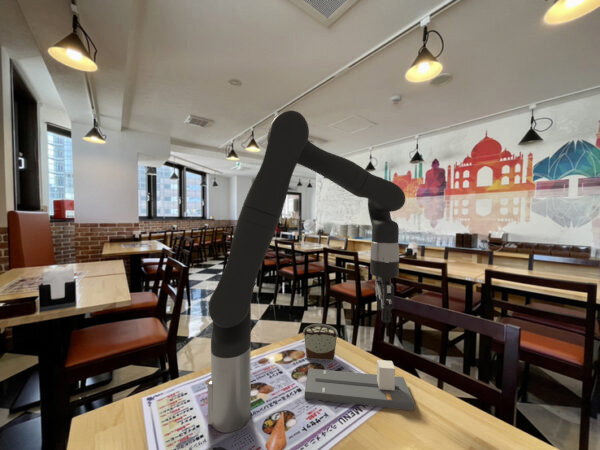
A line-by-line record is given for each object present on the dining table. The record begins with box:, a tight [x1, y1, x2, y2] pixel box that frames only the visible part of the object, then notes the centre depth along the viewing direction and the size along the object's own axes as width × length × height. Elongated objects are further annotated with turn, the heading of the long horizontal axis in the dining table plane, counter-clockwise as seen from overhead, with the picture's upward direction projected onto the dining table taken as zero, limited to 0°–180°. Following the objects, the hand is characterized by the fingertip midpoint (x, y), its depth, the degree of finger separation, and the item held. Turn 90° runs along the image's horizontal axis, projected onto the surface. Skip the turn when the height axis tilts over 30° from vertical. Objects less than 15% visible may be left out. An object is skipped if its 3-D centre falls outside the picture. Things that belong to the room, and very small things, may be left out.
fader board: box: [304, 367, 415, 412], centre depth 68 cm, size 28×10×2 cm, turn 82°
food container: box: [302, 323, 339, 362], centre depth 86 cm, size 12×6×10 cm, turn 84°
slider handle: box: [376, 359, 396, 391], centre depth 67 cm, size 4×4×6 cm
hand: (383, 315), depth 68 cm, fingers open, 8 cm apart
